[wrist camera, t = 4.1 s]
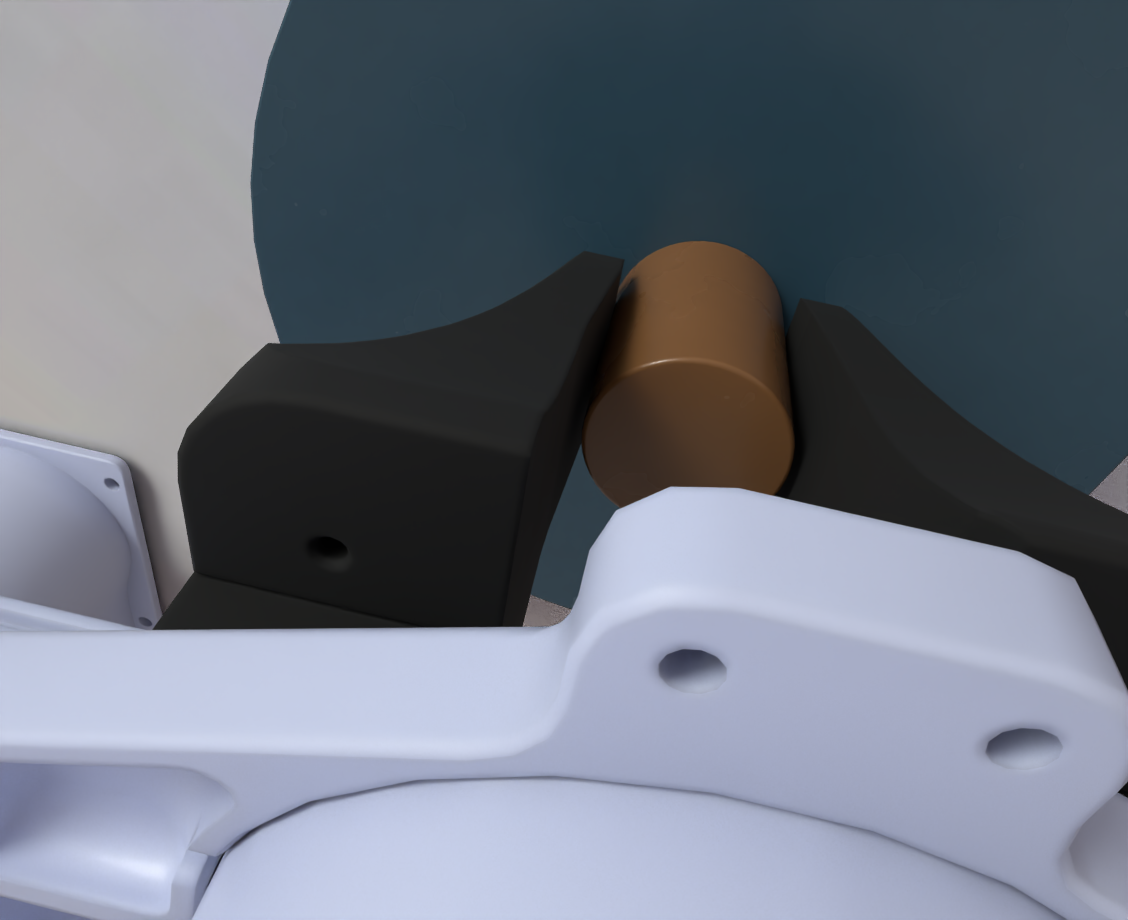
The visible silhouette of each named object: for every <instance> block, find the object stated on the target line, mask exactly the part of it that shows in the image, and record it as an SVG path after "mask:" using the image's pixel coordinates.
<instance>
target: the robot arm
mask: <svg viewBox="0 0 1128 920" xmlns="http://www.w3.org/2000/svg"><path fill="white" fill-rule="evenodd" d="M624 261H625V259H620V258H616V257H611V256H606V255H602V254H597V253H593V252H588V251H583V252H582V253H580V254H579V255H577V256H575V257H574V258H572V259H571V260H570V261H568V262H567V263H566V264H564V265H563V266H562V267H560V268H559V269H558V270H556V271H555V272H553V273H552V274H551V275H549V276H548V277H546V278H545V279H543V280H542V281H540V282H539V283H537V284H536V285H534V286H533V287H531V288H530V289H528V290H526V291H525V292H523V293H521V294H519V295H517V296H515V297H514V298H512V299H510V300H508V301H506V302H504V303H503V304H501V305H499V306H496V307H494V308H492V309H490V310H488V311H485V312H483V313H480V314H478V315H475V316H472V317H470V318H467V319H464V320H461V321H459V322H456V323H452V324H449V325H445V326H441V327H437V328H433V329H429V330H425V331H420V332H416V333H412V334H408V335H403V336H397V337H391V338H384V339H377V340H368V341H358V342H346V343H309V344H276V343H268V344H267V345H265V346H264V347H263V348H262V349H261V350H260V351H259V352H258V353H257V354H256V355H255V356H253V357H252V358H251V359H250V360H249V361H248V362H247V363H246V364H245V365H244V366H243V367H242V368H241V369H240V370H239V371H238V372H237V373H236V374H235V375H234V377H233V378H232V379H231V380H230V381H229V382H228V383H227V384H226V385H225V387H224V388H223V389H222V390H221V391H220V392H219V393H218V394H217V395H216V397H215V398H214V399H213V400H212V401H211V402H210V403H209V404H208V405H207V406H206V408H205V409H204V410H203V411H202V412H201V413H200V414H199V415H198V416H197V418H196V419H195V420H194V421H193V422H192V423H191V424H190V425H189V426H188V428H187V430H186V432H185V435H184V437H183V440H182V443H181V445H180V448H179V450H178V484H179V489H180V495H181V501H182V506H183V512H184V518H185V524H186V529H187V535H188V541H189V546H190V552H191V558H192V564H193V569H194V571H195V572H194V573H193V574H192V576H191V577H190V578H189V580H188V581H187V583H186V584H185V585H184V587H183V588H182V589H181V591H180V592H179V594H178V595H177V596H176V598H175V599H174V600H173V602H172V603H171V605H170V606H169V607H168V609H167V610H166V611H165V613H164V614H163V616H162V612H161V608H160V603H159V599H158V594H157V590H156V585H155V581H154V576H153V572H152V567H151V563H150V558H149V554H148V549H147V545H146V540H145V535H144V531H143V526H142V522H141V517H140V513H139V508H138V504H137V499H136V495H135V490H134V486H133V481H132V477H131V472H130V469H129V467H128V465H127V463H126V462H125V461H124V460H122V459H121V458H120V457H117V456H115V455H111V454H106V453H102V452H98V451H94V450H89V449H85V448H81V447H76V446H72V445H68V444H63V443H59V442H55V441H51V440H46V439H42V438H38V437H33V436H29V435H25V434H20V433H16V432H12V431H8V430H3V429H0V920H1128V514H1126V513H1124V512H1122V511H1120V510H1118V509H1116V508H1114V507H1111V506H1109V505H1107V504H1105V503H1103V502H1101V501H1099V500H1097V499H1095V498H1093V497H1091V496H1089V495H1087V494H1085V493H1083V492H1081V491H1079V490H1077V489H1075V488H1073V487H1071V486H1070V485H1068V484H1066V483H1064V482H1062V481H1061V480H1059V479H1057V478H1055V477H1054V476H1052V475H1050V474H1048V473H1047V472H1045V471H1043V470H1042V469H1040V468H1038V467H1036V466H1035V465H1033V464H1031V463H1029V462H1028V461H1026V460H1024V459H1023V458H1021V457H1020V456H1018V455H1016V454H1015V453H1013V452H1012V451H1010V450H1009V449H1007V448H1005V447H1004V446H1003V445H1001V444H1000V443H998V442H997V441H995V440H994V439H993V438H991V437H990V436H988V435H987V434H986V433H984V432H983V431H981V430H980V429H978V428H977V427H976V426H974V425H973V424H971V423H970V422H969V421H967V420H966V419H965V418H964V417H962V416H961V415H960V414H958V413H957V412H956V411H955V410H953V409H952V408H951V407H950V406H949V405H947V404H946V403H945V402H944V401H943V400H942V399H940V398H939V397H938V396H937V395H936V394H935V393H933V392H932V391H931V390H930V389H929V388H928V387H926V386H925V385H924V384H923V383H922V382H921V381H920V380H919V379H918V378H917V377H916V376H914V375H913V374H912V373H911V372H910V371H909V370H908V369H907V368H906V367H905V366H904V365H903V364H902V363H901V362H900V361H899V360H898V359H897V358H896V357H895V356H894V355H893V354H892V353H891V352H890V351H889V350H888V349H887V348H886V347H885V346H884V345H883V344H882V343H881V342H880V341H879V340H878V339H877V338H876V337H875V336H874V335H873V334H872V333H871V332H870V331H869V330H868V329H867V328H866V327H865V326H864V325H863V324H862V323H861V322H860V321H859V320H858V319H857V318H855V317H854V316H853V315H852V314H851V313H850V312H848V311H847V310H846V309H844V308H843V307H840V306H836V305H831V304H826V303H822V302H817V301H813V300H808V299H803V298H800V300H799V303H798V305H797V308H796V311H795V313H794V316H793V319H792V321H791V324H790V327H789V330H788V332H787V335H786V338H785V342H786V353H787V363H788V373H789V383H790V393H791V403H792V413H793V424H794V434H795V454H794V460H793V464H792V467H791V470H790V472H789V474H788V477H787V479H786V480H785V482H784V483H783V485H782V487H781V488H780V490H779V491H778V492H777V493H776V494H775V495H774V496H771V495H767V494H763V493H758V492H754V491H749V490H745V489H741V488H717V487H669V488H666V489H664V490H662V491H659V492H657V493H655V494H653V495H650V496H648V497H646V498H643V499H641V500H639V501H637V502H634V503H632V504H630V505H627V506H625V507H623V508H621V509H618V510H616V511H615V513H614V514H613V516H612V517H611V519H610V520H609V522H608V523H607V525H606V526H605V528H604V529H603V531H602V532H601V534H600V535H599V537H598V538H597V540H596V541H595V543H594V544H593V545H592V547H591V548H590V550H589V554H588V558H587V562H586V566H585V570H584V574H583V578H582V582H581V586H580V590H579V595H578V597H577V599H576V601H575V604H574V606H573V608H572V610H571V612H570V614H569V615H568V616H567V617H566V618H565V619H564V620H563V621H562V622H561V623H558V624H555V625H553V626H550V627H522V626H523V622H524V618H525V614H526V610H527V606H528V602H529V598H530V594H531V590H532V586H533V582H534V579H535V575H536V571H537V567H538V563H539V559H540V555H541V551H542V548H543V545H544V542H545V539H546V536H547V533H548V530H549V527H550V524H551V521H552V519H553V516H554V514H555V511H556V508H557V506H558V503H559V500H560V498H561V495H562V493H563V490H564V487H565V485H566V482H567V479H568V477H569V474H570V472H571V469H572V466H573V464H574V461H575V458H576V456H577V453H578V450H579V448H580V445H581V435H582V427H583V422H584V418H585V414H586V410H587V407H588V403H589V399H590V395H591V391H592V387H593V383H594V379H595V375H596V371H597V367H598V364H599V360H600V356H601V353H602V350H603V347H604V344H605V341H606V338H607V334H608V330H609V326H610V322H611V318H612V314H613V311H614V307H615V302H616V298H617V293H618V288H619V284H620V279H621V275H622V270H623V265H624Z"/></svg>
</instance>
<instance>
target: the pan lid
mask: <svg viewBox="0 0 1128 920" xmlns="http://www.w3.org/2000/svg"><path fill="white" fill-rule="evenodd" d="M251 199H252V215H253V232H254V243H255V248H256V253H257V259H258V264H259V269H260V274H261V280H262V285H263V290H264V295H265V298H266V301H267V304H268V307H269V310H270V313H271V316H272V320H273V323H274V326H275V329H276V332H277V335H278V338H279V341H280V344H309V343H346V342H358V341H368V340H377V339H384V338H391V337H397V336H403V335H408V334H412V333H416V332H420V331H425V330H429V329H433V328H437V327H441V326H445V325H449V324H452V323H456V322H459V321H461V320H464V319H467V318H470V317H472V316H475V315H478V314H480V313H483V312H485V311H488V310H490V309H492V308H494V307H496V306H499V305H501V304H503V303H504V302H506V301H508V300H510V299H512V298H514V297H515V296H517V295H519V294H521V293H523V292H525V291H526V290H528V289H530V288H531V287H533V286H534V285H536V284H537V283H539V282H540V281H542V280H543V279H545V278H546V277H548V276H549V275H551V274H552V273H553V272H555V271H556V270H558V269H559V268H560V267H562V266H563V265H564V264H566V263H567V262H568V261H570V260H571V259H572V258H574V257H575V256H577V255H579V254H580V253H582V252H583V251H588V252H593V253H597V254H602V255H606V256H611V257H616V258H620V259H625V261H624V265H623V270H622V275H621V279H620V284H619V288H618V293H617V298H616V302H615V307H614V311H613V314H612V318H611V322H610V326H609V330H608V334H607V338H606V341H605V344H604V347H603V350H602V353H601V356H600V360H599V364H598V367H597V371H596V375H595V379H594V383H593V387H592V391H591V395H590V399H589V403H588V407H587V410H586V414H585V418H584V422H583V427H582V435H581V445H580V448H579V450H578V453H577V456H576V458H575V461H574V464H573V466H572V469H571V472H570V474H569V477H568V479H567V482H566V485H565V487H564V490H563V493H562V495H561V498H560V500H559V503H558V506H557V508H556V511H555V514H554V516H553V519H552V521H551V524H550V527H549V530H548V533H547V536H546V539H545V542H544V545H543V548H542V551H541V555H540V559H539V563H538V567H537V571H536V575H535V579H534V582H533V586H532V590H531V595H533V596H535V597H537V598H540V599H543V600H546V601H549V602H551V603H554V604H557V605H560V606H563V607H566V608H569V609H572V608H573V606H574V604H575V601H576V599H577V597H578V595H579V590H580V586H581V582H582V578H583V574H584V570H585V566H586V562H587V558H588V554H589V550H590V548H591V547H592V545H593V544H594V543H595V541H596V540H597V538H598V537H599V535H600V534H601V532H602V531H603V529H604V528H605V526H606V525H607V523H608V522H609V520H610V519H611V517H612V516H613V514H614V513H615V511H616V510H618V509H621V508H623V507H625V506H627V505H630V504H632V503H634V502H637V501H639V500H641V499H643V498H646V497H648V496H650V495H653V494H655V493H657V492H659V491H662V490H664V489H666V488H669V487H717V488H741V489H745V490H749V491H754V492H758V493H763V494H767V495H771V496H774V495H775V494H776V493H777V492H778V491H779V490H780V488H781V487H782V485H783V483H784V482H785V480H786V479H787V477H788V474H789V472H790V470H791V467H792V464H793V460H794V454H795V434H794V424H793V413H792V403H791V393H790V383H789V373H788V363H787V353H786V342H785V338H786V335H787V332H788V330H789V327H790V324H791V321H792V319H793V316H794V313H795V311H796V308H797V305H798V303H799V300H800V298H803V299H808V300H813V301H817V302H822V303H826V304H831V305H836V306H840V307H843V308H844V309H846V310H847V311H848V312H850V313H851V314H852V315H853V316H854V317H855V318H857V319H858V320H859V321H860V322H861V323H862V324H863V325H864V326H865V327H866V328H867V329H868V330H869V331H870V332H871V333H872V334H873V335H874V336H875V337H876V338H877V339H878V340H879V341H880V342H881V343H882V344H883V345H884V346H885V347H886V348H887V349H888V350H889V351H890V352H891V353H892V354H893V355H894V356H895V357H896V358H897V359H898V360H899V361H900V362H901V363H902V364H903V365H904V366H905V367H906V368H907V369H908V370H909V371H910V372H911V373H912V374H913V375H914V376H916V377H917V378H918V379H919V380H920V381H921V382H922V383H923V384H924V385H925V386H926V387H928V388H929V389H930V390H931V391H932V392H933V393H935V394H936V395H937V396H938V397H939V398H940V399H942V400H943V401H944V402H945V403H946V404H947V405H949V406H950V407H951V408H952V409H953V410H955V411H956V412H957V413H958V414H960V415H961V416H962V417H964V418H965V419H966V420H967V421H969V422H970V423H971V424H973V425H974V426H976V427H977V428H978V429H980V430H981V431H983V432H984V433H986V434H987V435H988V436H990V437H991V438H993V439H994V440H995V441H997V442H998V443H1000V444H1001V445H1003V446H1004V447H1005V448H1007V449H1009V450H1010V451H1012V452H1013V453H1015V454H1016V455H1018V456H1020V457H1021V458H1023V459H1024V460H1026V461H1028V462H1029V463H1031V464H1033V465H1035V466H1036V467H1038V468H1040V469H1042V470H1043V471H1045V472H1047V473H1048V474H1050V475H1052V476H1054V477H1055V478H1057V479H1059V480H1061V481H1062V482H1064V483H1066V484H1068V485H1070V486H1071V487H1073V488H1075V489H1077V490H1079V491H1081V492H1083V493H1085V494H1087V495H1089V494H1090V493H1091V492H1092V491H1093V490H1094V489H1095V488H1096V487H1097V486H1098V485H1099V484H1100V483H1101V482H1102V481H1103V480H1104V479H1105V478H1106V477H1107V476H1108V475H1109V474H1110V473H1111V472H1112V471H1113V470H1114V469H1115V468H1116V467H1117V466H1118V465H1119V464H1120V463H1121V462H1122V461H1123V460H1124V459H1125V458H1126V457H1127V456H1128V0H290V2H289V5H288V8H287V10H286V13H285V16H284V19H283V21H282V24H281V27H280V29H279V32H278V35H277V38H276V40H275V43H274V46H273V49H272V51H271V54H270V57H269V60H268V64H267V69H266V73H265V78H264V83H263V87H262V92H261V97H260V101H259V106H258V111H257V116H256V120H255V130H254V143H253V157H252V170H251Z"/></svg>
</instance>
